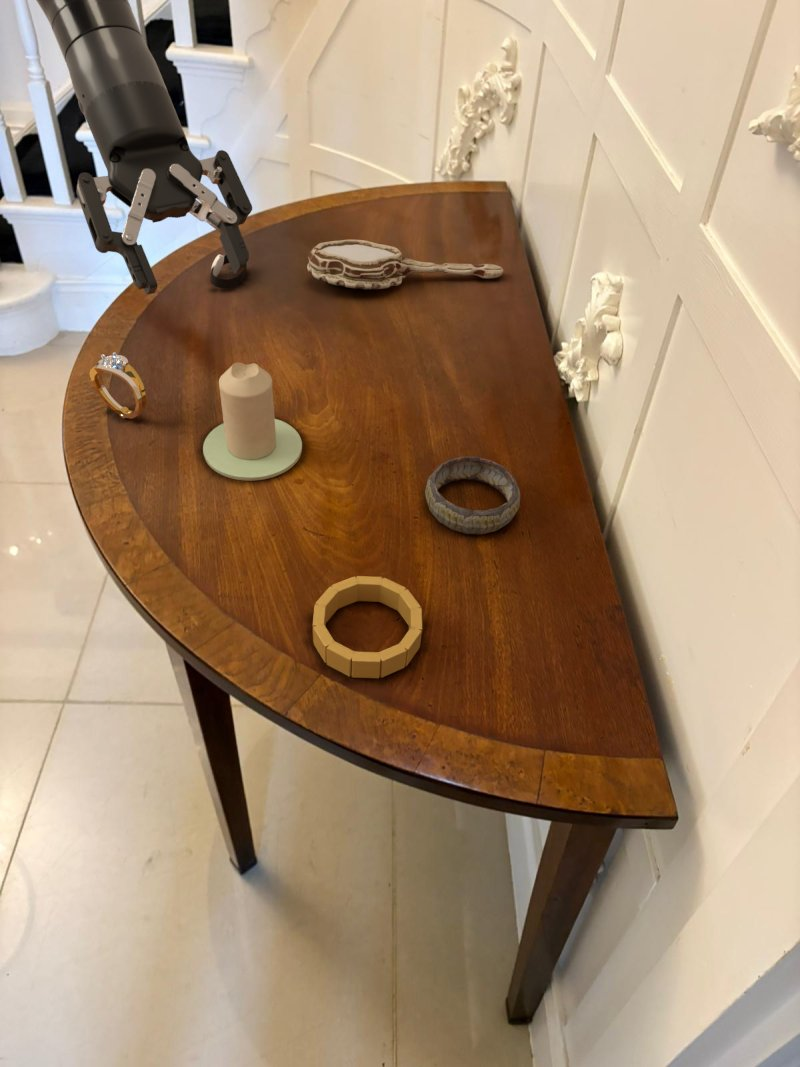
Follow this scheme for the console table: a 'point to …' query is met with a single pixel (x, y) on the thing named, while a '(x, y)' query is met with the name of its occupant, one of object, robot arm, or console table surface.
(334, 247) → the hand mirror
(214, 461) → the coaster
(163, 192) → the robot arm
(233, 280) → the watch
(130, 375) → the ring
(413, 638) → the segmented bracelet
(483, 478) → the decorative ring
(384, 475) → the console table surface
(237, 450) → the candle
